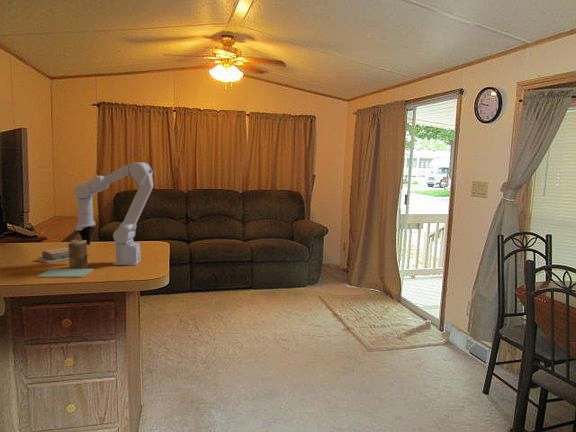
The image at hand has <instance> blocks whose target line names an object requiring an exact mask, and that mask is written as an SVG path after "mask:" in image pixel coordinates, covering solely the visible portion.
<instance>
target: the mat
mask: <svg viewBox="0 0 576 432" xmlns="http://www.w3.org/2000/svg"><path fill="white" fill-rule="evenodd" d="M93 271H94V268H84V269H70V268H50V269H48V270H46V271H45V272H42V273H41V274H39V275H37V276H36V278H39V279H41V278H43V279H44V278H48V279H49V278H83V277H85V276H87V275H88V274H89V273H91V272H93Z"/></svg>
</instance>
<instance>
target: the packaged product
mask: <svg viewBox="0 0 576 432" xmlns="http://www.w3.org/2000/svg"><path fill="white" fill-rule="evenodd" d="M41 253H42V256H39V257H38V256H37V258H36V259H37V261H39V262H43V263H46V264H53V263H57V262H63V261H69V248H68V246H67V247H61V248H54V249H47V250H44V251H42V252H41ZM89 256H90V254H88V253H87V257H89Z"/></svg>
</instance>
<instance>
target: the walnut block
mask: <svg viewBox="0 0 576 432" xmlns="http://www.w3.org/2000/svg"><path fill="white" fill-rule="evenodd" d="M67 245H68V246H67V247H68V248H69V260H68V262H69V263H68V265H69V266H68V267H69V268H68V269H87V268H88V267H89V266H88V256H87V254H88V248H87V247H88V245H87V240H82V239H81V240H78V239H75V240H71V241H69V242H67Z"/></svg>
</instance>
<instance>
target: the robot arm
mask: <svg viewBox="0 0 576 432" xmlns="http://www.w3.org/2000/svg"><path fill="white" fill-rule="evenodd" d="M153 173H154V172H153V170H152V167H151V166H150V164H149V163H147V162H145V161H143V162H137V161H134V162H132V163H128V164H126V165H124V166H121V167H120V168H118V169H116V170H115V171H112V172H111V173H109V174H108V175H106V176H104V175H95V176H94V178H93V179H91V180H86V181H85V182H84V184H82V183H81V184H78V185H77V186H75V188H74V190H73V192H74V195H75V197H76V198H77V199H76V200H77V220H78V221H77V222H76V223H75V231H77V232H78V234H79V235H80V237H81V240H87V246H89V245H91V241H92V236H93V234H94V232H95V230H96V228H95V226H96V221H95V220H94V207H93V206H94V205H93V204H94V203H93V197H94V196H95V194H98V193H100V192H103V191H105V190H106V189H108V188H109V187H110V184H111V183H114V182H116V181H118V180H120V179H122V178H124V177H126V176H127V177H130V176H131V177H132V178H133V179H134V180H135V181H136V183H137V185H138V189H137V191H136V194H135V195H134V197H133V200H132V202H131V204H130V206H129V208H128V211H127V212H126V215H125V217H124V220H123V221H122V222H121V223H120V224H119V226H118V227H117V229H115V230H114V231H113V233H112V238H113V240H114V242H115V257H116V258H115V260H116V261H115V262H114V263H113V264H112V265H113V266H137V265H138V264H139V263H140V262H141V261H142V260H141V245H140V243H139V242H135V241H134V238H135V237H136V230H137V223H138V221H139V219H140V216H141V214H142V212H143V209H144V208H145V206H146V204H147V201H148V199H149V197H150V195H151V193H152V191H153V188H154V181H153V180H154V179H153ZM93 226H94V227H93Z"/></svg>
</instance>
